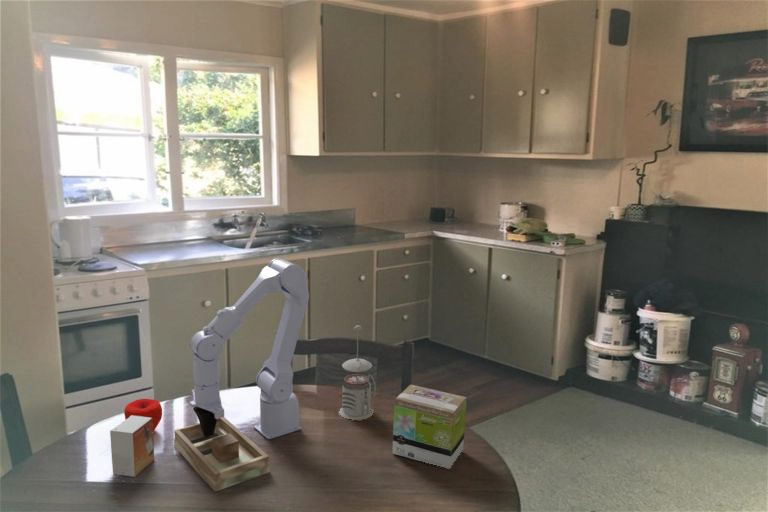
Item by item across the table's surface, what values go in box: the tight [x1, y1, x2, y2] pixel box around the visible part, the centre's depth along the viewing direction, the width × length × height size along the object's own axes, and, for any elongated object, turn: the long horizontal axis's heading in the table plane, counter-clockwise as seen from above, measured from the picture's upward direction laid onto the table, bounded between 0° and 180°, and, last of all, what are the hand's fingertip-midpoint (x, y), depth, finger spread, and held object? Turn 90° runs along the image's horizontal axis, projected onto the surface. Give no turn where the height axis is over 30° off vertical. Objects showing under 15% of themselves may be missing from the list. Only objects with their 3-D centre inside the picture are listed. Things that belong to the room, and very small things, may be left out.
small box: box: [109, 415, 155, 478], centre depth 136 cm, size 8×6×10 cm
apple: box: [123, 398, 163, 432], centre depth 152 cm, size 9×9×8 cm
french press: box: [338, 324, 377, 421], centre depth 164 cm, size 10×12×25 cm
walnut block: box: [212, 433, 239, 463], centre depth 139 cm, size 4×4×4 cm
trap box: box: [173, 416, 271, 493], centre depth 141 cm, size 13×24×4 cm, turn 39°
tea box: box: [392, 384, 468, 469], centre depth 145 cm, size 15×10×15 cm, turn 65°
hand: (208, 434), depth 146 cm, fingers closed
